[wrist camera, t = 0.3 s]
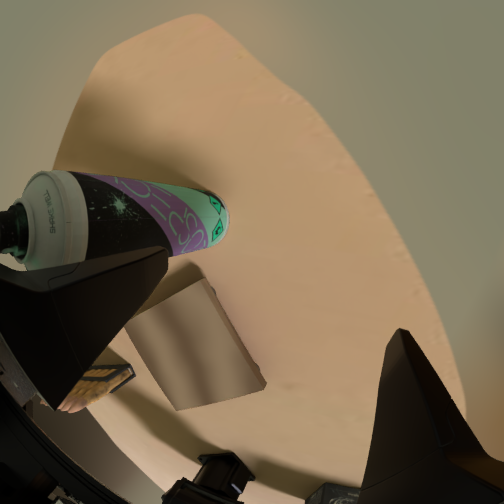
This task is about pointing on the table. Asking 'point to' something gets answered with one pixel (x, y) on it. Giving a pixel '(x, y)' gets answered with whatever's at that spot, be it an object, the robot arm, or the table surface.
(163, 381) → the flat square brown plate
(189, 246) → the spray can
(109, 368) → the ammunition clip
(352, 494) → the small box
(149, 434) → the table surface
